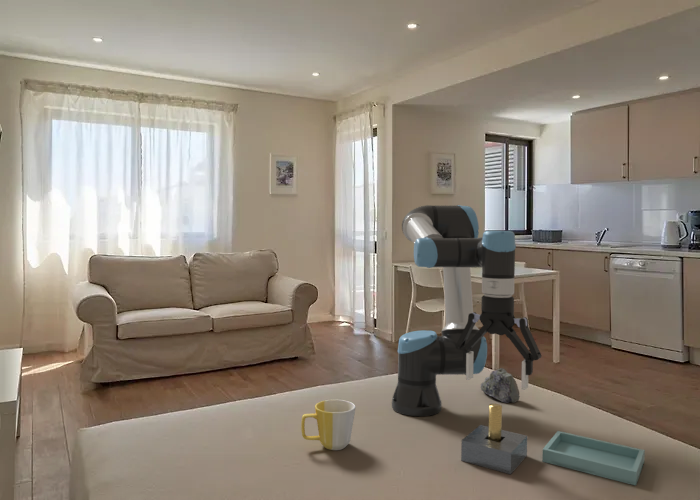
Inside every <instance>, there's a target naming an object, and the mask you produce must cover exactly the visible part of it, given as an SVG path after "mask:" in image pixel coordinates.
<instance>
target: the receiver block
mask: <svg viewBox="0 0 700 500" xmlns="http://www.w3.org/2000/svg"><path fill="white" fill-rule="evenodd" d="M488 433H489V426H487V425H483V424H480V425H478V426H477V427H476V428H475V429H474V430H472V431H470V433H468V434H467V435H466V436H465V437H464V438H462V439H461V450H460V451H461V452H460V453H461V455H460V460H461V461H462V462H465V463H469V464H471V465H476V466H479V467H483V468H486V469H490V470H494V471H497V472H500V473H504V474H508V475H512V474H513V473H514V471H515V470H516V469H517V468H518V466H520V465H521V463H522V462H523V461H524V460H525V458H527V456H528V435H525V434H521V433H516V432H513V431H510V430H509V431H508V430H504V429H501V442H496V441H492V440H488Z"/></svg>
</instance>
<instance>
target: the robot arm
mask: <svg viewBox="0 0 700 500" xmlns="http://www.w3.org/2000/svg"><path fill="white" fill-rule="evenodd" d="M479 229H480V227H479V220H478V216H477V213H476V211H475V210H474V208H472V207H471V206H467V205H460V204H457V205H428V204H427V205H420V206H418V207H416V208H413V209H411V210H410V211H409V212H408V213H406V214H405V216H404V217H403V219H402V223H401V230H402V234H403V235H404V237H405V238H406V239H407V240H408V241H410V242H412V243H413V260H414V264H415V265H416V266H417V267H418V268H428V269H430V268H431V269H432V268H442V269H443V270H442V272H443V275H442V276H443V291H444V308H445V309H444V310H445V311H444V313H445V326H444V327H443V328H441V329H442V330H441V335H438V334H437V332H436V331H433V330H431V329H429V330H425V329H423V330H415V331H410V332H406V333H404V334H402V335H401V336H400V337H399V339H398V346H397V355H398V356H397V360H398V361H397V384H396V387H395V390H394V392H393V395H392V399H391V408H392V409H393V410H394V411H395V412H396V413H399V414H402V415H404V416H405V415H406V416H411V417H412V416H413V417H429V416H434V415H437V414H439V413H441V411H442V400H441V396H440V393H439V390H438V386H437V375H438V376H440V375H442V376H443V375H444V376H445V375H446V376H447V375H450V376H451V375H453V376H454V375H456V376H458V375H462V376H463V375H465V379H466V380H467V381H469V380H471V379H473V378H474V375H478V374H480V373H482V371H483V370H484V369H485V365H486V363H487V356H488V342H487V339H486V337H485V335H486V334H487V333H489V334H490V335H499V336H504V335H505V337H507V338H508V339H509V340H510V342H511V343H512V344H513V345H514V347H515V349H516V350H517V351H518V352H519V354H520V355H521V357H522V358H523V360H522V361H521V382H520V383H521V386H520V389H521V390H526V389H528V388H529V376H532V374H533V369H534V367H533V365H534V363H533V362H534V361H538V360H539V359H541V358H542V353H541V351H540V349H539V347H538V344H537V343H536V341H535V338H534V336H533V334H532V332H531V330H530V326H529V320H528V318H527V317H526V316H524V317H521V318H520V317H518V318H517V317H515V297H514V296H513V295H515V270H516V269H515V268H516V267H515V266H516V265H515V264H516V248H517V245H516V237H515V235H516V234H515V232H513V231H512V230H509V231H508V230H485V231H484V232H483V233H482V237H479ZM471 268H482V269H481V293H482V294H483V295H482V296H481V310H480V311H481V313H480V314H479V313H477V312H476V311H474V306H473V305H474V304H473V301H474V300H473V287H472V275H471V274H472V272H471ZM479 321H480V323H481V325H482V327H480V328H478V327H477V325H476V323H477V322H479ZM515 324H516V326H517V327H518V328H519V329H520V333H521V334H522V337H523V338H524V341H525V343H526V344H525V343H524V342H523V341H522V340H521V338H520V337H519V336H518V334H517V332H516V330H515V329H514V328H513V326H514V325H515Z"/></svg>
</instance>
